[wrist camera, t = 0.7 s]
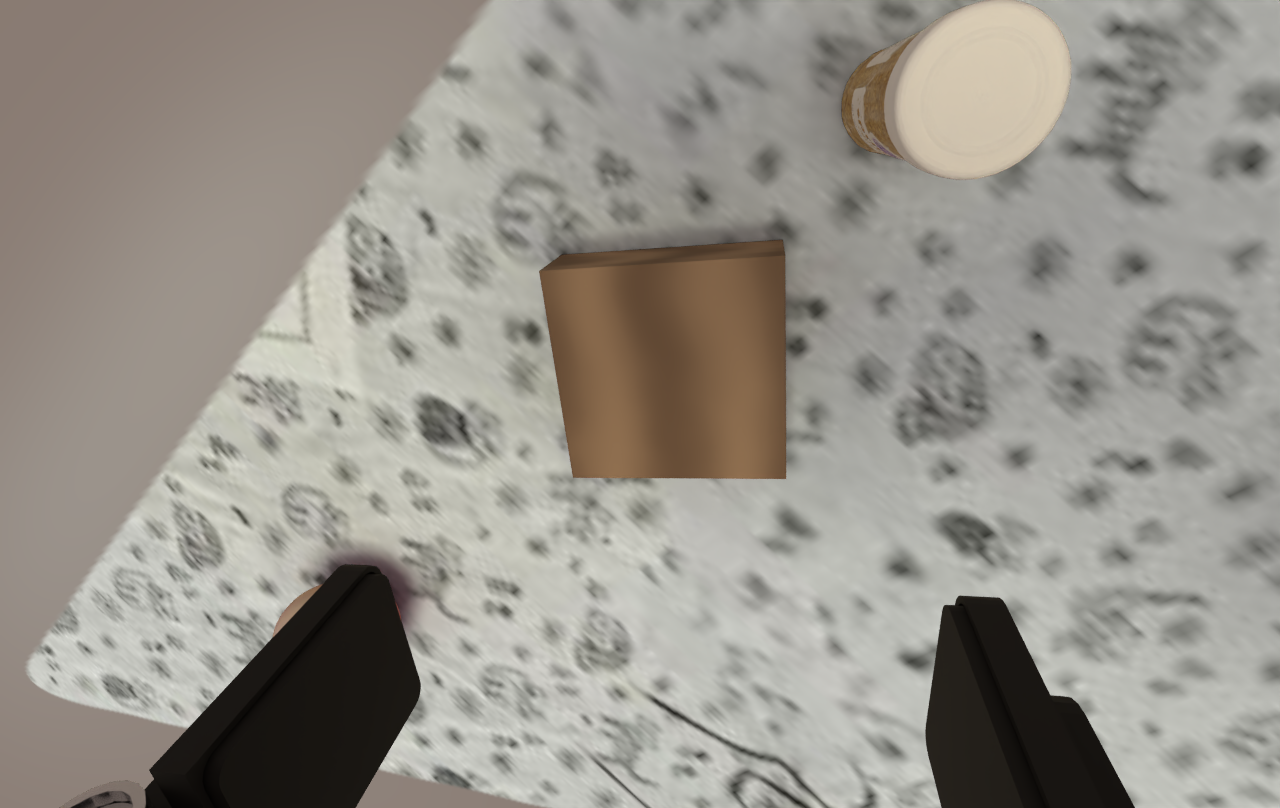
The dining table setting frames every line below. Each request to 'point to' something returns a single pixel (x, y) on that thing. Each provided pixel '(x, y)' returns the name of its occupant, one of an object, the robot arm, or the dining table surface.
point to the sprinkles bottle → (963, 91)
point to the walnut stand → (671, 360)
